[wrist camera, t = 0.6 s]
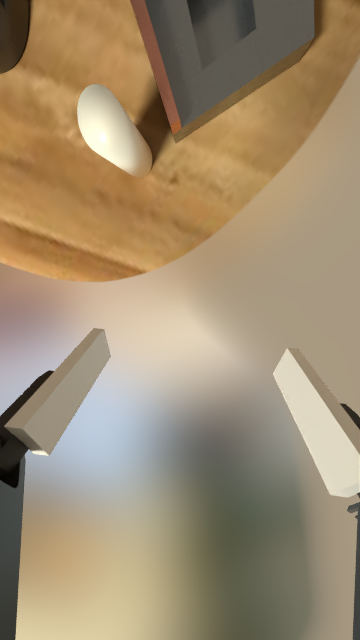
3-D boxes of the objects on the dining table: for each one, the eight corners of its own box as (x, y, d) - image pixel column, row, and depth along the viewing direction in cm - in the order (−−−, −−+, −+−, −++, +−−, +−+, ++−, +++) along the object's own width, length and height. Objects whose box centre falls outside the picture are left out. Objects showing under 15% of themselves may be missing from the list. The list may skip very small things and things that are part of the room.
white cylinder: (117, 148, 25) (67, 105, 15) (142, 129, 23) (105, 69, 14) (133, 184, 27) (97, 165, 17) (157, 168, 25) (133, 139, 16)
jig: (132, 6, 18) (109, -65, 14) (289, -154, 14) (334, -341, 9) (175, 143, 24) (170, 125, 19) (299, 61, 19) (330, 11, 15)
